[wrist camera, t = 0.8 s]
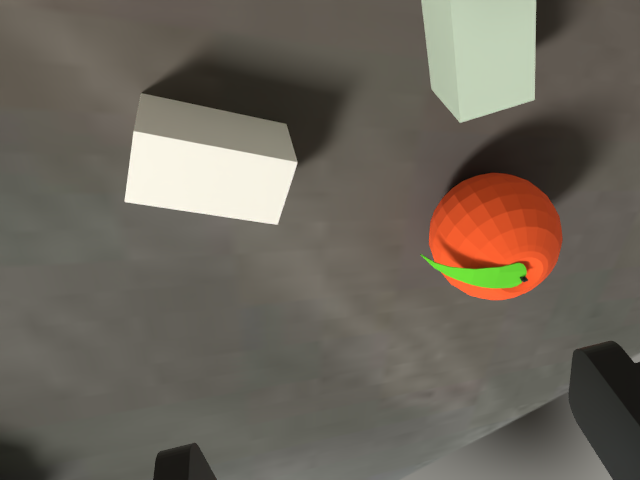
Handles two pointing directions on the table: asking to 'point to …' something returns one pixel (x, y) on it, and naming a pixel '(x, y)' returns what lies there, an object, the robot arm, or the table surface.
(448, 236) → the clementine
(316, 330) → the table surface
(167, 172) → the cream brick
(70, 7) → the table surface
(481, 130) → the table surface
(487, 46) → the sage brick
